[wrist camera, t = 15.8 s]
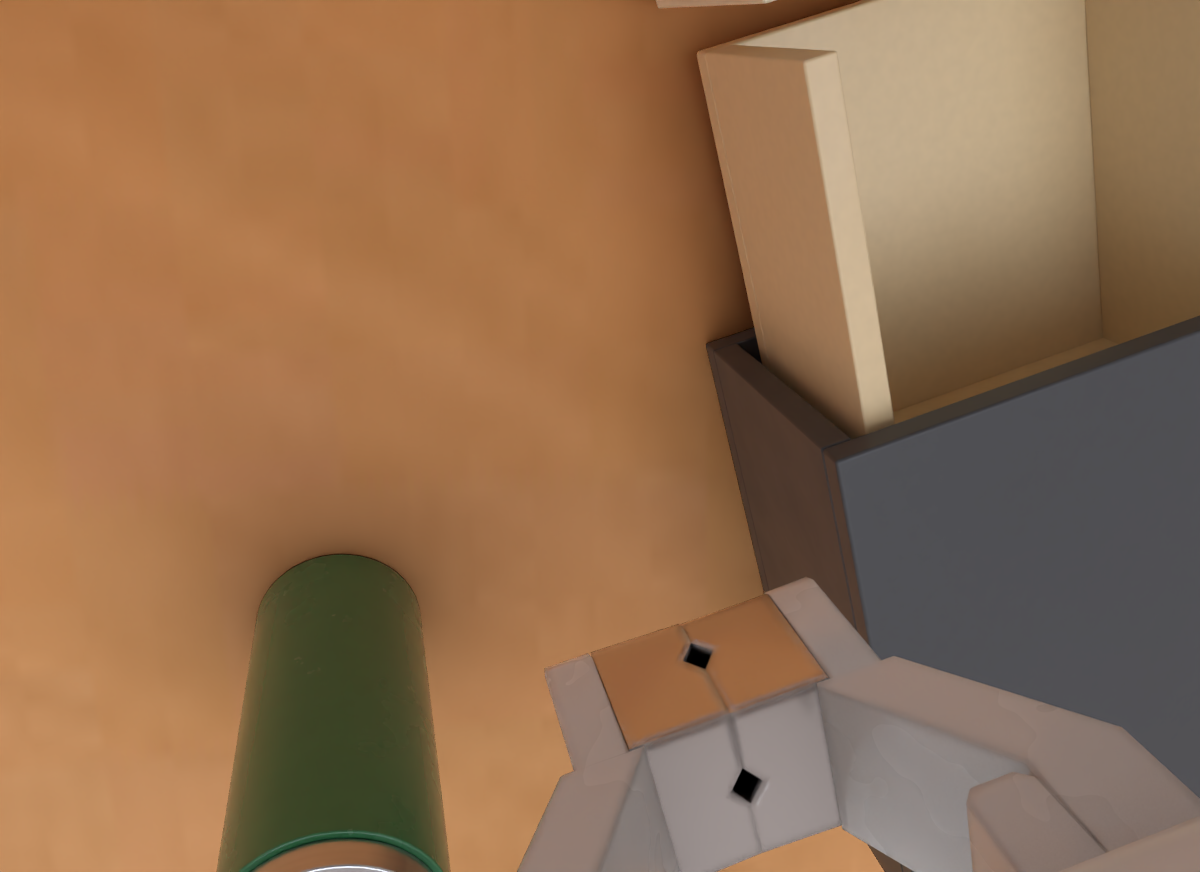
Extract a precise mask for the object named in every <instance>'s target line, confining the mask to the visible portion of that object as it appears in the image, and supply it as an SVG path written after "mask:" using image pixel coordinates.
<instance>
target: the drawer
mask: <svg viewBox="0 0 1200 872" xmlns="http://www.w3.org/2000/svg"><path fill="white" fill-rule="evenodd" d="M773 1H776V0H656V3H657V6H658V8H677V7H699V6H722V5H744V4H766V3H770V2H773ZM697 59H698V64H699V68H700V73H701V78H702V82H703V87H704V92H705V97H706V101H707V106H708V111H709V116H710V120H711V125H712V130H713V134H714V139H715V144H716V149H717V153H718V158H719V163H720V168H721V172H722V177H723V182H724V186H725V191H726V196H727V201H728V205H729V210H730V215H731V220H732V224H733V229H734V234H735V238H736V243H737V248H738V253H739V257H740V262H741V267H742V271H743V276H744V281H745V286H746V290H747V295H748V300H749V305H750V309H751V314H752V319H753V323H754V328H755V333H756V338H757V342H758V347H759V352H760V357H761V361H762V365H763V366H764V367H766V368H767V369H768V370H769V371H770V372H772V373H773V374H774V375H775V376H776V377H778V378H779V379H780V380H781V381H782V382H784V383H785V384H786V385H787V386H788V387H790V388H791V389H792V390H793V391H794V392H796V393H797V394H798V395H799V396H800V397H802V398H803V399H804V400H805V401H806V402H808V403H809V404H810V405H811V406H812V407H814V408H815V409H816V410H817V411H818V412H820V413H821V414H822V415H823V416H824V417H826V418H827V419H828V420H829V421H830V422H832V423H833V424H834V425H835V426H836V427H838V428H839V429H840V430H841V431H842V432H844V433H845V434H846V435H847V436H848V437H850V439H851V440H852V439H855V438H857V437H860V436H863V435H866V434H869V433H871V432H874V431H877V430H880V429H883V428H885V427H888V426H891V425H894V424H897V423H899V422H902V421H905V420H908V419H911V418H913V417H916V416H919V415H922V414H925V413H927V412H930V411H933V410H936V409H939V408H941V407H944V406H947V405H950V404H953V403H955V402H958V401H961V400H964V399H967V398H969V397H972V396H975V395H978V394H981V393H983V392H986V391H989V390H992V389H995V388H997V387H1000V386H1003V385H1006V384H1009V383H1011V382H1014V381H1017V380H1020V379H1023V378H1025V377H1028V376H1031V375H1034V374H1037V373H1040V372H1042V371H1045V370H1048V369H1051V368H1054V367H1056V366H1059V365H1062V364H1065V363H1068V362H1070V361H1073V360H1076V359H1079V358H1082V357H1084V356H1087V355H1090V354H1093V353H1096V352H1098V351H1101V350H1104V349H1107V348H1110V347H1112V346H1115V345H1118V344H1121V343H1124V342H1126V341H1129V340H1132V339H1135V338H1138V337H1140V336H1143V335H1146V334H1149V333H1152V332H1154V331H1157V330H1160V329H1163V328H1166V327H1168V326H1171V325H1174V324H1177V323H1180V322H1182V321H1185V320H1188V319H1191V318H1194V317H1196V316H1199V315H1200V0H861V1H858V2H855V3H852V4H849V5H845V6H842V7H839V8H836V9H832V10H829V11H826V12H823V13H820V14H816V15H813V16H810V17H807V18H803V19H800V20H797V21H794V22H791V23H787V24H784V25H781V26H778V27H774V28H771V29H768V30H765V31H762V32H758V33H755V34H752V35H749V36H746V37H742V38H739V39H736V40H733V41H729V42H726V43H723V44H720V45H717V46H713V47H710V48H707V49H704V50H700V51H698V52H697Z"/></svg>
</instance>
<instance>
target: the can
mask: <svg viewBox="0 0 1200 872" xmlns="http://www.w3.org/2000/svg"><path fill="white" fill-rule="evenodd" d="M217 872H451V870H450V862H449V853H448V845H447V836H446V828H445V819H444V811H443V802H442V794H441V785H440V777H439V768H438V760H437V751H436V743H435V734H434V726H433V717H432V709H431V700H430V692H429V683H428V675H427V666H426V658H425V649H424V641H423V632H422V624H421V615H420V609H419V605H418V602H417V599H416V596H415V594H414V593H413V591H412V589H411V587H410V586H409V585H408V584H407V582H406V581H405V580H404V579H403V578H402V577H401V576H400V575H399V574H398V573H397V572H395V571H394V570H392V569H391V568H390V567H388V566H386V565H384V564H382V563H380V562H378V561H375V560H373V559H370V558H366V557H362V556H356V555H342V554H338V555H327V556H323V557H318V558H314V559H311V560H308V561H306V562H303V563H301V564H299V565H297V566H295V567H294V568H292V569H290V570H289V571H287V572H286V573H285V574H283V575H282V576H281V577H280V578H278V580H277V581H276V582H275V583H274V584H273V585H272V586H271V587H270V589H269V590H268V591H267V593H266V594H265V596H264V598H263V600H262V602H261V604H260V607H259V610H258V614H257V619H256V625H255V631H254V638H253V644H252V650H251V657H250V663H249V669H248V676H247V682H246V688H245V695H244V701H243V707H242V714H241V720H240V726H239V733H238V739H237V745H236V752H235V758H234V764H233V771H232V777H231V783H230V790H229V796H228V802H227V809H226V815H225V821H224V828H223V834H222V840H221V847H220V853H219V859H218V866H217Z"/></svg>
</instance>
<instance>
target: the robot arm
mask: <svg viewBox="0 0 1200 872" xmlns="http://www.w3.org/2000/svg"><path fill="white" fill-rule="evenodd" d="M545 678H546V681H547V684H548V688H549V691H550V694H551V698H552V701H553V704H554V707H555V711H556V714H557V717H558V720H559V724H560V727H561V730H562V734H563V737H564V740H565V743H566V747H567V750H568V753H569V756H570V760H571V763H572V766H573V770H574V771H573V772H571V773H568V774H565V775H563V776H561V777H560V779H559V781H558V783H557V785H556V788H555V790H554V792H553V794H552V796H551V798H550V801H549V803H548V805H547V807H546V809H545V811H544V814H543V816H542V818H541V820H540V822H539V825H538V827H537V829H536V831H535V833H534V835H533V838H532V840H531V842H530V844H529V846H528V848H527V851H526V853H525V855H524V857H523V859H522V861H521V864H520V866H519V868H518V870H517V872H716V871H719V870H721V869H724V868H726V867H729V866H731V865H733V864H736V863H738V862H741V861H743V860H746V859H748V858H750V857H753V856H755V855H758V854H760V853H763V852H766V851H769V850H772V849H774V848H777V847H780V846H783V845H786V844H789V843H792V842H795V841H797V840H800V839H803V838H806V837H809V836H812V835H815V834H818V833H820V832H823V831H826V830H829V829H832V828H835V827H838V826H841V825H842V828H843V830H845V831H847V832H848V833H850V834H852V835H853V836H855V837H857V838H858V839H860V840H862V841H863V842H865V843H867V844H869V845H870V846H872V847H874V848H875V849H877V850H879V851H880V852H882V853H884V854H885V855H887V856H889V857H890V858H892V859H894V860H895V861H897V862H899V863H900V864H902V865H904V866H906V867H907V868H909V869H911V870H912V871H914V872H1200V798H1198V797H1197V796H1196V795H1195V794H1194V793H1193V792H1192V791H1191V790H1190V789H1189V788H1188V787H1186V786H1185V785H1184V784H1183V783H1182V782H1181V781H1180V780H1179V779H1178V778H1177V777H1176V776H1175V775H1173V774H1172V773H1171V772H1170V771H1169V770H1168V769H1167V768H1166V767H1165V766H1164V765H1163V764H1161V763H1160V762H1159V761H1158V760H1157V759H1156V758H1155V757H1154V756H1153V755H1152V754H1151V753H1150V752H1148V751H1147V750H1146V749H1145V748H1144V747H1143V746H1142V745H1141V744H1140V743H1139V742H1138V741H1136V740H1135V739H1134V738H1133V737H1132V736H1131V735H1130V734H1129V733H1128V732H1127V731H1126V730H1125V729H1123V728H1122V727H1120V726H1116V725H1113V724H1110V723H1107V722H1104V721H1100V720H1097V719H1094V718H1091V717H1088V716H1085V715H1081V714H1078V713H1075V712H1072V711H1069V710H1065V709H1062V708H1059V707H1056V706H1053V705H1049V704H1046V703H1043V702H1040V701H1037V700H1033V699H1030V698H1027V697H1024V696H1021V695H1018V694H1014V693H1011V692H1008V691H1005V690H1002V689H998V688H995V687H992V686H989V685H986V684H982V683H979V682H976V681H973V680H970V679H966V678H963V677H960V676H957V675H954V674H950V673H947V672H944V671H941V670H938V669H935V668H931V667H928V666H925V665H922V664H919V663H915V662H912V661H909V660H906V659H903V658H899V657H896V656H892V657H889V658H887V659H884V660H881V659H880V658H879V657H878V656H877V654H876V653H875V652H874V651H873V650H872V649H871V647H870V646H869V645H868V644H867V643H866V641H865V640H864V639H863V638H862V637H861V636H860V634H859V633H858V632H857V631H856V630H855V628H854V627H853V626H852V625H851V624H850V622H849V621H848V620H847V619H846V618H845V617H844V615H843V614H842V613H841V612H840V611H839V609H838V608H837V607H836V606H835V605H834V603H833V602H832V601H831V600H830V599H829V598H828V596H827V595H826V594H825V593H824V592H823V590H822V589H821V588H820V587H819V586H818V585H817V583H816V582H815V581H814V580H813V579H810V578H807V577H804V578H802V579H799V580H796V581H794V582H791V583H789V584H786V585H783V586H781V587H778V588H775V589H773V590H770V591H768V592H765V593H764V595H762V596H759V597H756V598H753V599H750V600H747V601H745V602H742V603H739V604H736V605H733V606H730V607H728V608H725V609H722V610H719V611H716V612H713V613H711V614H708V615H705V616H702V617H699V618H696V619H694V620H691V621H688V622H685V623H682V624H677V625H674V626H671V627H668V628H665V629H661V630H658V631H655V632H652V633H649V634H646V635H643V636H640V637H637V638H634V639H631V640H627V641H624V642H621V643H618V644H615V645H612V646H609V647H606V648H603V649H600V650H597V651H593V652H591V656H590V655H589V654H585V655H582V656H579V657H576V658H573V659H570V660H567V661H564V662H561V663H559V664H556V665H553V666H550V667H547V668H545Z"/></svg>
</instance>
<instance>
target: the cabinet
mask: <svg viewBox="0 0 1200 872" xmlns="http://www.w3.org/2000/svg"><path fill="white" fill-rule="evenodd" d="M706 348H707V352H708V356H709V360H710V365H711V369H712V373H713V377H714V382H715V386H716V390H717V394H718V399H719V403H720V407H721V411H722V416H723V420H724V424H725V428H726V433H727V437H728V441H729V445H730V450H731V454H732V458H733V462H734V467H735V471H736V475H737V479H738V484H739V488H740V492H741V496H742V501H743V505H744V509H745V513H746V518H747V522H748V526H749V530H750V534H751V539H752V543H753V547H754V551H755V556H756V560H757V564H758V568H759V573H760V577H761V581H762V585H763V590H764V593H765V592H768V591H770V590H773V589H775V588H778V587H781V586H783V585H786V584H789V583H791V582H794V581H796V580H799V579H802V578H804V577H807V578H810V579H813V580H814V581H815V582H816V583H817V585H818V586H819V587H820V588H821V589H822V590H823V592H824V593H825V594H826V595H827V596H828V598H829V599H830V600H831V601H832V602H833V603H834V605H835V606H836V607H837V608H838V609H839V611H840V612H841V613H842V614H843V615H844V617H845V618H846V619H847V620H848V621H849V622H850V624H851V625H852V626H853V627H854V628H855V630H856V631H857V632H858V633H859V634H860V636H861V637H862V638H863V639H864V640H865V641H866V643H867V644H868V645H869V646H870V647H871V649H872V650H873V651H874V652H875V653H876V654H877V656H878V657H879V658H880V659H881V660H884V659H887V658H889V657H892V656H896V657H899V658H903V659H906V660H909V661H912V662H915V663H919V664H922V665H925V666H928V667H931V668H935V669H938V670H941V671H944V672H947V673H950V674H954V675H957V676H960V677H963V678H966V679H970V680H973V681H976V682H979V683H982V684H986V685H989V686H992V687H995V688H998V689H1002V690H1005V691H1008V692H1011V693H1014V694H1018V695H1021V696H1024V697H1027V698H1030V699H1033V700H1037V701H1040V702H1043V703H1046V704H1049V705H1053V706H1056V707H1059V708H1062V709H1065V710H1069V711H1072V712H1075V713H1078V714H1081V715H1085V716H1088V717H1091V718H1094V719H1097V720H1100V721H1104V722H1107V723H1110V724H1113V725H1116V726H1120V727H1122V728H1123V729H1125V730H1126V731H1127V732H1128V733H1129V734H1130V735H1131V736H1132V737H1133V738H1134V739H1135V740H1136V741H1138V742H1139V743H1140V744H1141V745H1142V746H1143V747H1144V748H1145V749H1146V750H1147V751H1148V752H1150V753H1151V754H1152V755H1153V756H1154V757H1155V758H1156V759H1157V760H1158V761H1159V762H1160V763H1161V764H1163V765H1164V766H1165V767H1166V768H1167V769H1168V770H1169V771H1170V772H1171V773H1172V774H1173V775H1175V776H1176V777H1177V778H1178V779H1179V780H1180V781H1181V782H1182V783H1183V784H1184V785H1185V786H1186V787H1188V788H1189V789H1190V790H1191V791H1192V792H1193V793H1194V794H1195V795H1196V796H1197V797H1198V798H1200V315H1199V316H1196V317H1194V318H1191V319H1188V320H1185V321H1182V322H1180V323H1177V324H1174V325H1171V326H1168V327H1166V328H1163V329H1160V330H1157V331H1154V332H1152V333H1149V334H1146V335H1143V336H1140V337H1138V338H1135V339H1132V340H1129V341H1126V342H1124V343H1121V344H1118V345H1115V346H1112V347H1110V348H1107V349H1104V350H1101V351H1098V352H1096V353H1093V354H1090V355H1087V356H1084V357H1082V358H1079V359H1076V360H1073V361H1070V362H1068V363H1065V364H1062V365H1059V366H1056V367H1054V368H1051V369H1048V370H1045V371H1042V372H1040V373H1037V374H1034V375H1031V376H1028V377H1025V378H1023V379H1020V380H1017V381H1014V382H1011V383H1009V384H1006V385H1003V386H1000V387H997V388H995V389H992V390H989V391H986V392H983V393H981V394H978V395H975V396H972V397H969V398H967V399H964V400H961V401H958V402H955V403H953V404H950V405H947V406H944V407H941V408H939V409H936V410H933V411H930V412H927V413H925V414H922V415H919V416H916V417H913V418H911V419H908V420H905V421H902V422H899V423H897V424H894V425H891V426H888V427H885V428H883V429H880V430H877V431H874V432H871V433H869V434H866V435H863V436H860V437H857V438H855V439H852V440H851V439H850V437H848V436H847V435H846V434H845V433H844V432H842V431H841V430H840V429H839V428H838V427H836V426H835V425H834V424H833V423H832V422H830V421H829V420H828V419H827V418H826V417H824V416H823V415H822V414H821V413H820V412H818V411H817V410H816V409H815V408H814V407H812V406H811V405H810V404H809V403H808V402H806V401H805V400H804V399H803V398H802V397H800V396H799V395H798V394H797V393H796V392H794V391H793V390H792V389H791V388H790V387H788V386H787V385H786V384H785V383H784V382H782V381H781V380H780V379H779V378H778V377H776V376H775V375H774V374H773V373H772V372H770V371H769V370H768V369H767V368H766V367H764V366H763V365H762V361H761V357H760V352H759V347H758V342H757V338H756V333H755V328H751V329H748V330H745V331H742V332H739V333H737V334H734V335H731V336H728V337H725V338H722V339H719V340H716V341H713V342H710V343H707V344H706ZM868 846H869V848H870V849H871V851H872V852H873V854H874V856H875V857H876V859H877V860H878V862H879V863H880V865H881V867H882V868H883V870H884V871H885V872H914V871H912V870H911V869H909V868H907V867H906V866H904V865H902V864H900V863H899V862H897V861H895V860H894V859H892V858H890V857H889V856H887V855H885V854H884V853H882V852H880V851H879V850H877V849H875V848H874V847H872V846H870V845H869V844H868Z"/></svg>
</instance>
